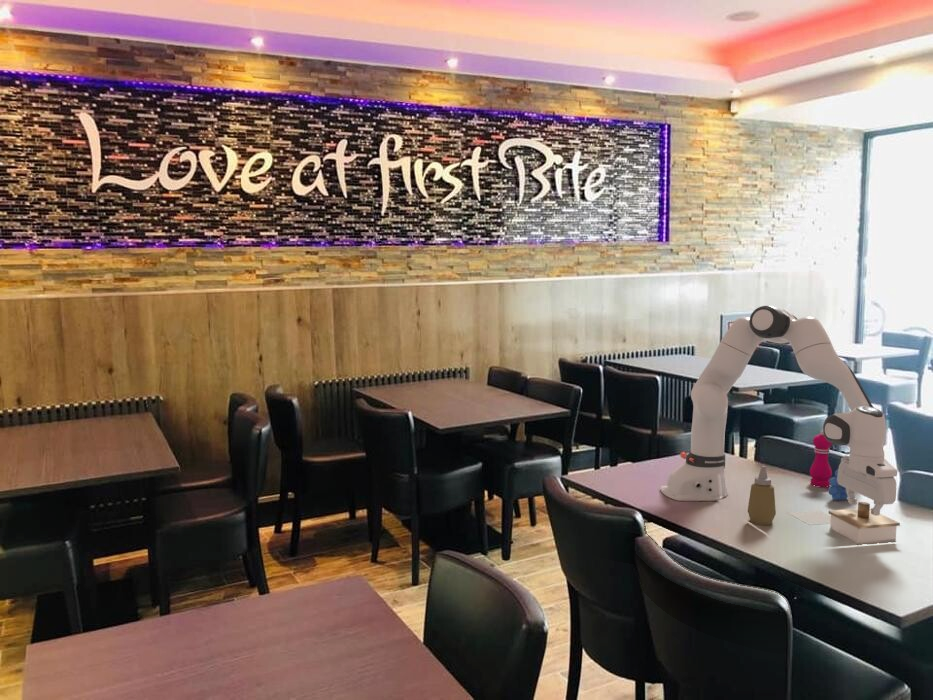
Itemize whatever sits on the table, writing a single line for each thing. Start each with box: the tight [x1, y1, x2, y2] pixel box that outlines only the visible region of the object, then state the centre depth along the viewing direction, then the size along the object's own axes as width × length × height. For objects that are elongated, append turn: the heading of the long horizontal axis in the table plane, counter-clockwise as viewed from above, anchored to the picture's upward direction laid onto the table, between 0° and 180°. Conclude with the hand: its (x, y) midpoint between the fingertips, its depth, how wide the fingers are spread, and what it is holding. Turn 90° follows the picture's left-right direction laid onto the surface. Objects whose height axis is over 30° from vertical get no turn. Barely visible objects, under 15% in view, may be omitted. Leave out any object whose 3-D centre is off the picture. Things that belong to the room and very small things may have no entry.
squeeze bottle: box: [747, 465, 777, 526], centre depth 222 cm, size 8×8×18 cm
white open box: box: [829, 514, 898, 546], centre depth 212 cm, size 12×12×5 cm
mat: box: [788, 510, 831, 526], centre depth 226 cm, size 11×11×1 cm
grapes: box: [827, 468, 848, 501], centre depth 243 cm, size 12×7×12 cm, turn 110°
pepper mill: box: [809, 429, 833, 488], centre depth 259 cm, size 7×7×20 cm
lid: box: [828, 501, 901, 529], centre depth 212 cm, size 13×13×5 cm
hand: (863, 509), depth 211 cm, fingers open, 8 cm apart
